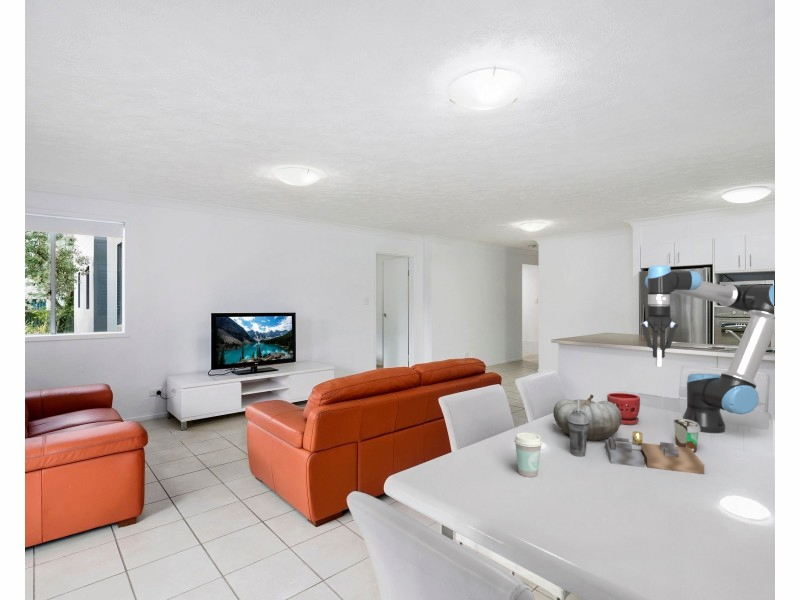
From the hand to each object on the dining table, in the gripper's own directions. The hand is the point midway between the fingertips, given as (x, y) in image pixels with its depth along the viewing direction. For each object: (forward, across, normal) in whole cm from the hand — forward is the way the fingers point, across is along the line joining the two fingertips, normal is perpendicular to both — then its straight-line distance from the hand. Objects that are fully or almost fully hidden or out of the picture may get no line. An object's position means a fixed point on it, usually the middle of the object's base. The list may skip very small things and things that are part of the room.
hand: (658, 366), depth 170 cm
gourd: (+29, -26, -3) cm, 40 cm away
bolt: (+26, -14, -23) cm, 37 cm away
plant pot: (+30, -9, +23) cm, 39 cm away
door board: (+29, -6, -23) cm, 38 cm away
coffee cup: (+29, -47, -48) cm, 73 cm away
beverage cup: (+29, -30, -26) cm, 49 cm away
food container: (+30, +9, -7) cm, 32 cm away
